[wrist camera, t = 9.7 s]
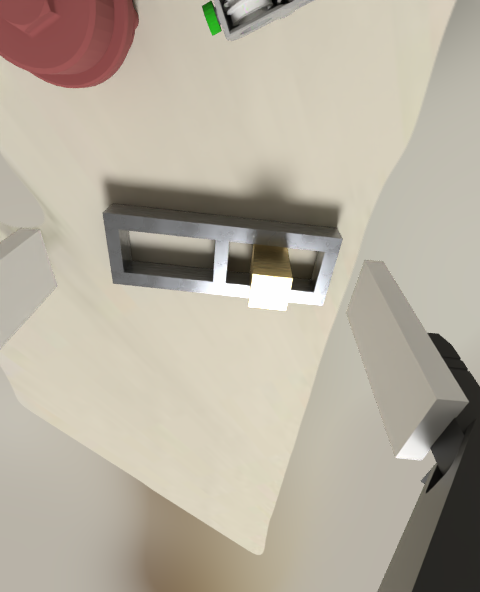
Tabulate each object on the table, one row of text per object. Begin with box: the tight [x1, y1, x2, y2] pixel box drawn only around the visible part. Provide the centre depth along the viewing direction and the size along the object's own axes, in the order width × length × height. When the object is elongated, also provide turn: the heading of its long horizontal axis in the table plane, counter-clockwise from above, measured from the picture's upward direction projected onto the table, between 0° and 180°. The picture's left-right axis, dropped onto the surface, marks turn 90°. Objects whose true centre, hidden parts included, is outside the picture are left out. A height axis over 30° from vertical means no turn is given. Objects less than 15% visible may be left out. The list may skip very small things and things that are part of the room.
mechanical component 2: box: [0, 0, 139, 88], centre depth 23 cm, size 12×10×10 cm
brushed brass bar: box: [249, 244, 293, 310], centre depth 37 cm, size 4×4×8 cm
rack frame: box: [103, 204, 343, 306], centre depth 39 cm, size 9×26×3 cm, turn 84°
